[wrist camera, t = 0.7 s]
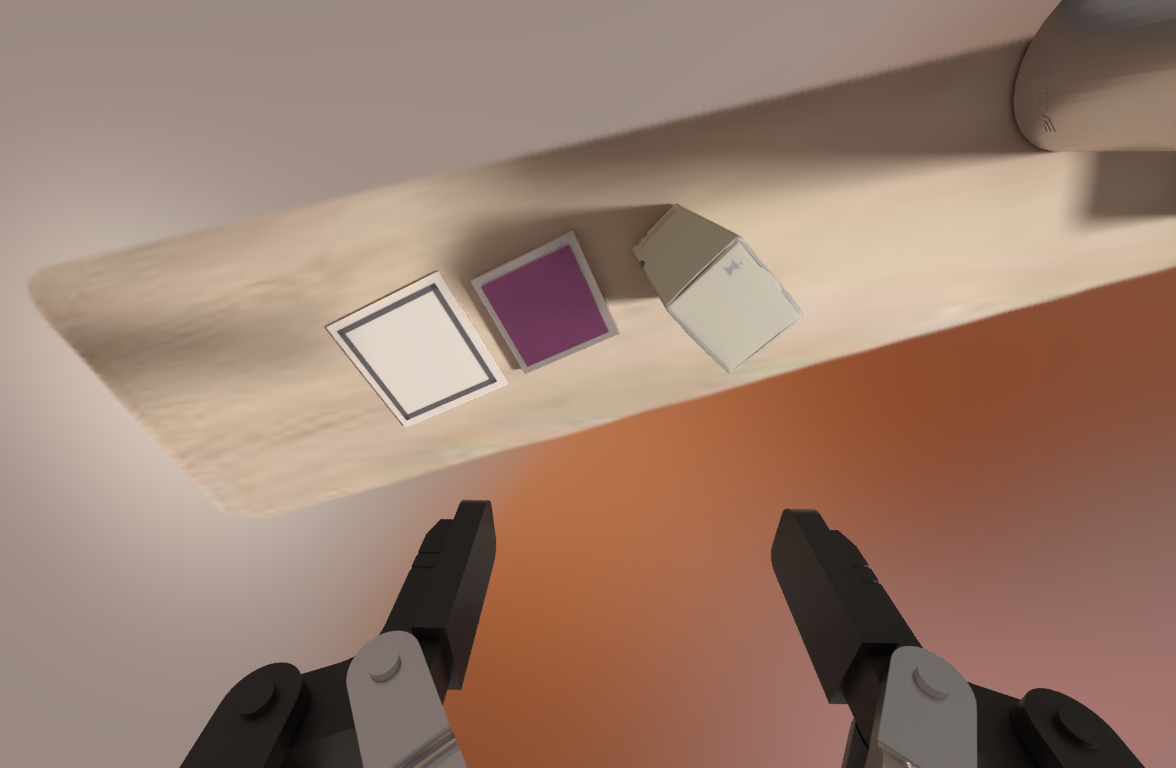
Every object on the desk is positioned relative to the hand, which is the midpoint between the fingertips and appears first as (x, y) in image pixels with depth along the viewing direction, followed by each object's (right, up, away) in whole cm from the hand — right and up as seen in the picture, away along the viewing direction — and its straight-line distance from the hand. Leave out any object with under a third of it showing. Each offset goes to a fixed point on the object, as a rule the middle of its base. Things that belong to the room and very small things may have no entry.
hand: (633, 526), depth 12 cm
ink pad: (-4, +10, +20) cm, 23 cm away
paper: (-14, +6, +22) cm, 27 cm away
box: (+5, +13, +18) cm, 23 cm away
